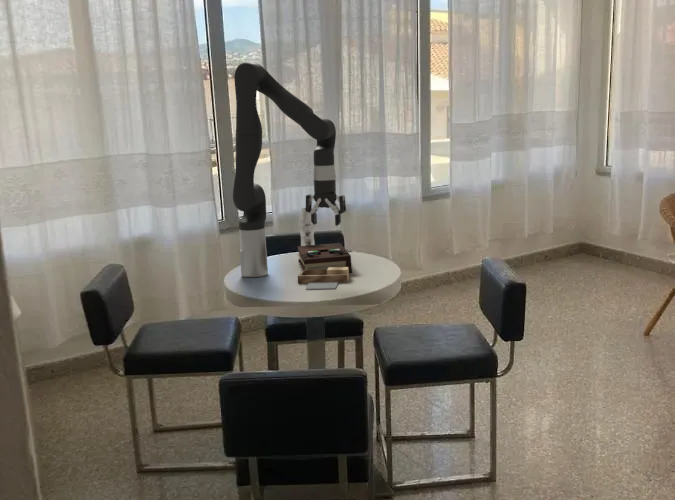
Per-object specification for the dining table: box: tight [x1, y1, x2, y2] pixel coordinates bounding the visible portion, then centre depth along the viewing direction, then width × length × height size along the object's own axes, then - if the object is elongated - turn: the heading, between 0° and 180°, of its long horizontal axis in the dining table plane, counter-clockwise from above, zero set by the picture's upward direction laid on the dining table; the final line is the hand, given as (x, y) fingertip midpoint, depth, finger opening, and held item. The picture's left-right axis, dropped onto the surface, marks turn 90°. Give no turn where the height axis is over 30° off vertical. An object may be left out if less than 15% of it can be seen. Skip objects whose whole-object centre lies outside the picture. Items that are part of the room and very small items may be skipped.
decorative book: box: [297, 242, 353, 274], centre depth 266 cm, size 19×8×30 cm
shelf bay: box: [297, 269, 348, 284], centre depth 248 cm, size 17×9×2 cm, turn 84°
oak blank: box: [327, 267, 350, 282], centre depth 247 cm, size 7×4×4 cm, turn 82°
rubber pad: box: [305, 282, 339, 291], centre depth 239 cm, size 10×8×1 cm
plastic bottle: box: [298, 207, 316, 246], centre depth 282 cm, size 6×7×20 cm
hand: (326, 224), depth 248 cm, fingers open, 8 cm apart
